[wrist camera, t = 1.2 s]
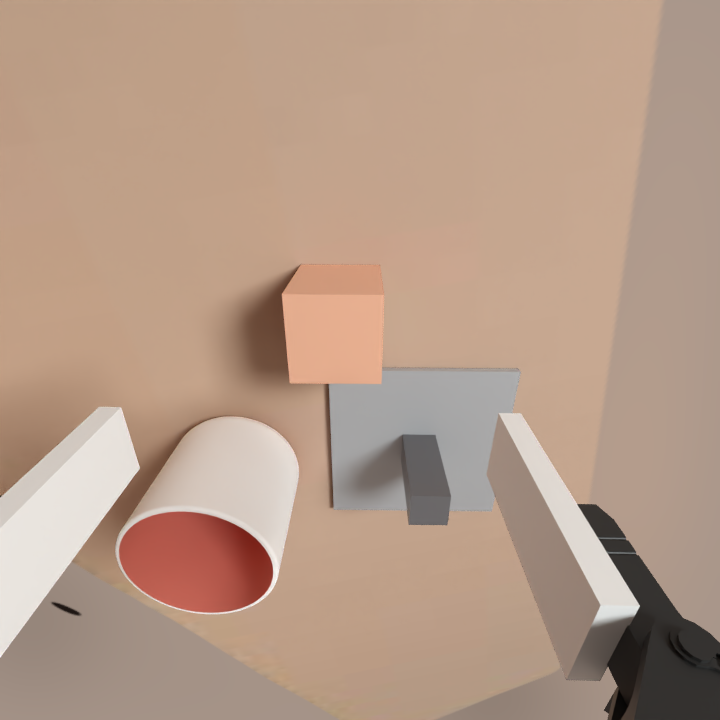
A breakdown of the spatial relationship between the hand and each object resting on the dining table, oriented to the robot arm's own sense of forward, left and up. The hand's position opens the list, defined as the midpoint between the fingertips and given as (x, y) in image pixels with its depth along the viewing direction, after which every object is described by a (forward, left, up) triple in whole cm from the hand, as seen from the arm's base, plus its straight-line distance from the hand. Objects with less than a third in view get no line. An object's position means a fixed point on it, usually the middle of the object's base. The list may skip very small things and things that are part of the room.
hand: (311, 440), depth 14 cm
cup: (+14, -8, -15) cm, 22 cm away
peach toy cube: (0, 0, -15) cm, 15 cm away
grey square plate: (+12, +6, -15) cm, 20 cm away
